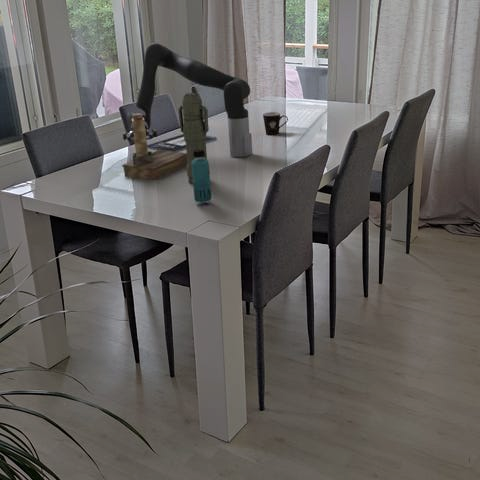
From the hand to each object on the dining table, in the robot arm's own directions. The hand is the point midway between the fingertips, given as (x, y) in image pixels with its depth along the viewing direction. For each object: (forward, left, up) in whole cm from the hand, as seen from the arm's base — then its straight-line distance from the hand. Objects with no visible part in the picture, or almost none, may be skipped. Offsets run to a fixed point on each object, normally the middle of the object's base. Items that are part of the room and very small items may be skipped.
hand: (140, 138), depth 283 cm
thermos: (-29, +1, -16) cm, 33 cm away
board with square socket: (-2, -6, -16) cm, 17 cm away
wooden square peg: (+1, -1, -11) cm, 11 cm away
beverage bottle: (-46, +23, -16) cm, 54 cm away
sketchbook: (+16, -48, -16) cm, 54 cm away
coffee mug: (-20, -79, -16) cm, 83 cm away
